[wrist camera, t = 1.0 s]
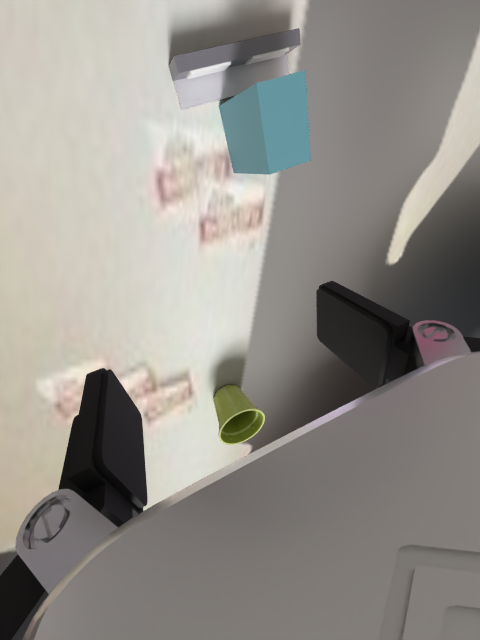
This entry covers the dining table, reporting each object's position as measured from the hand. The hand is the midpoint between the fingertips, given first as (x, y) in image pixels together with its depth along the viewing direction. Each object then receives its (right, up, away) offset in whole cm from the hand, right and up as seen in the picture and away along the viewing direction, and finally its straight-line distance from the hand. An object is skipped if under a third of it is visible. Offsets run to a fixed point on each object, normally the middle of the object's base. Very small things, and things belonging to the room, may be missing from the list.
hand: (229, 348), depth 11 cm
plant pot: (-2, -15, +43) cm, 46 cm away
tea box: (+1, +25, +21) cm, 32 cm away
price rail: (0, +29, +17) cm, 34 cm away
